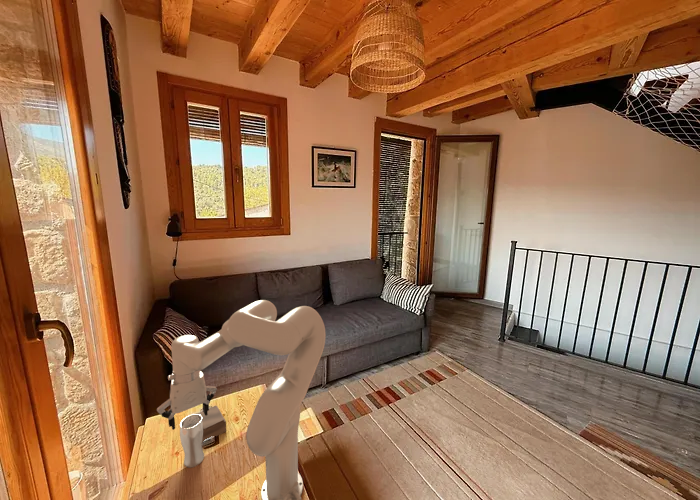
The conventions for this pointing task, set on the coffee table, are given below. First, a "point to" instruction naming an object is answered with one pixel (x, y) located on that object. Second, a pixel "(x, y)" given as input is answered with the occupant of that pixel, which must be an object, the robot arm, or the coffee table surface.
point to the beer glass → (192, 439)
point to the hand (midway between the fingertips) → (189, 419)
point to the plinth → (213, 422)
